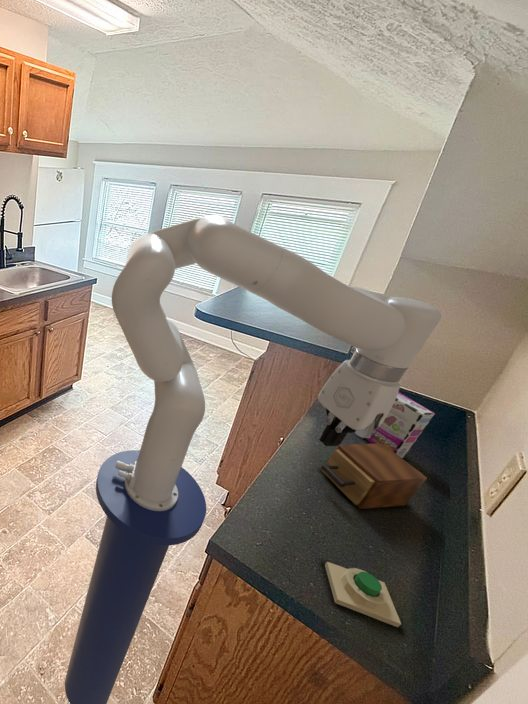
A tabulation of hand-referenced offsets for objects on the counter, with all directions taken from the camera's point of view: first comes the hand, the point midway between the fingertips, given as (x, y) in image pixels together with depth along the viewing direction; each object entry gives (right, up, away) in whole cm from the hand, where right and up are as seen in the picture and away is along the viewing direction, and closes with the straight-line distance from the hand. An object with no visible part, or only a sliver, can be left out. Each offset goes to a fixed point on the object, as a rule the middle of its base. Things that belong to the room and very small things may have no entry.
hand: (328, 443), depth 76 cm
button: (+4, -26, -5) cm, 27 cm away
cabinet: (+25, -17, +21) cm, 37 cm away
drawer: (+21, -16, +20) cm, 33 cm away
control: (+3, -28, -3) cm, 29 cm away
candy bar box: (+43, -11, +38) cm, 58 cm away
